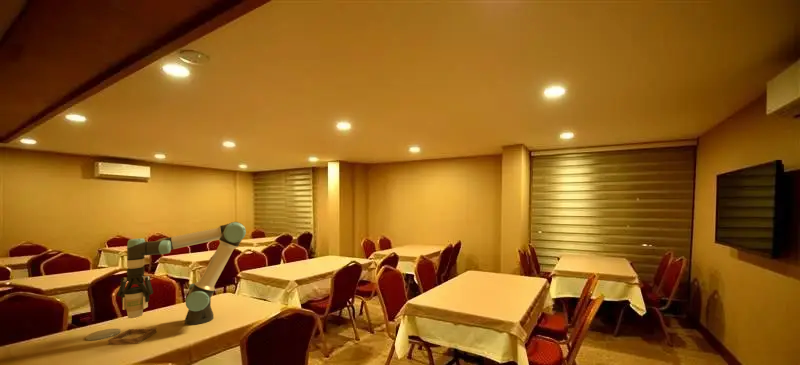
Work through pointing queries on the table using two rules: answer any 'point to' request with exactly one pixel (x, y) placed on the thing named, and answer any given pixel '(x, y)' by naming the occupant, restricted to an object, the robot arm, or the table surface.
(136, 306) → the coffee cup
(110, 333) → the coaster
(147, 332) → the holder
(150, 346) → the table surface
